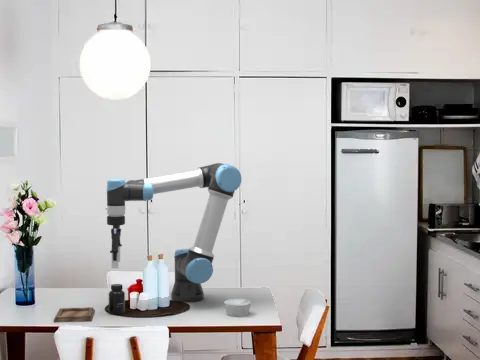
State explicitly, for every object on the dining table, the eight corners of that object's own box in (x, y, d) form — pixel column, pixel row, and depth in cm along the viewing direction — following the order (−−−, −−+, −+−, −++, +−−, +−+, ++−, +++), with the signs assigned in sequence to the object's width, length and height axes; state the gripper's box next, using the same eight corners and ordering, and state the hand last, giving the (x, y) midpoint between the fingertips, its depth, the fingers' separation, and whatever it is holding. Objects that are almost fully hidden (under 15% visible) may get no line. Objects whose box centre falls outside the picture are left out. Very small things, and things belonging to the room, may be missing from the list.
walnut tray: (94, 311, 309) (94, 307, 309) (91, 321, 294) (91, 316, 294) (58, 312, 307) (58, 307, 307) (53, 322, 292) (53, 317, 292)
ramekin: (252, 316, 302) (252, 304, 301) (226, 318, 300) (226, 305, 300) (248, 310, 313) (248, 298, 312) (222, 311, 311) (222, 299, 311)
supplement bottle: (121, 315, 304) (121, 287, 303) (106, 314, 305) (105, 286, 304) (127, 311, 310) (126, 283, 309) (112, 310, 312) (111, 282, 311)
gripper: (109, 211, 316) (109, 259, 318) (104, 219, 292) (104, 270, 293) (126, 211, 317) (126, 259, 319) (123, 219, 292) (123, 270, 294)
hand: (116, 265), depth 306 cm, fingers open, 13 cm apart
